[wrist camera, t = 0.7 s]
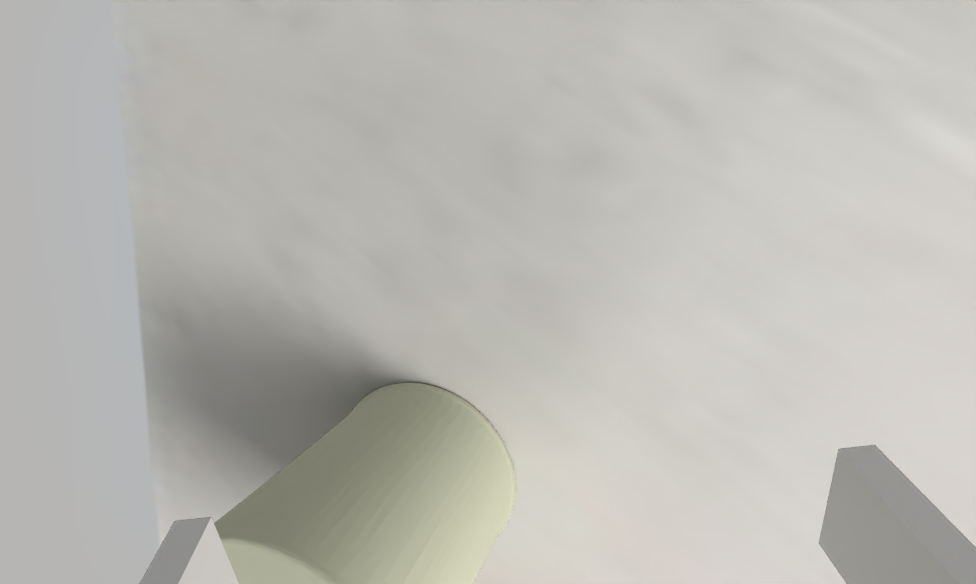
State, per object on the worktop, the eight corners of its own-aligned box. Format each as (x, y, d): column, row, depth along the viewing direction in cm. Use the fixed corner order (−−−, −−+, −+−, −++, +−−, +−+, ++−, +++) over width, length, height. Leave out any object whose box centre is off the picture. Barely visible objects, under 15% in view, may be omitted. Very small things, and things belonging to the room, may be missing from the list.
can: (394, 568, 30) (226, 814, 19) (312, 414, 29) (89, 578, 18) (549, 531, 27) (452, 808, 16) (461, 354, 26) (293, 515, 15)
